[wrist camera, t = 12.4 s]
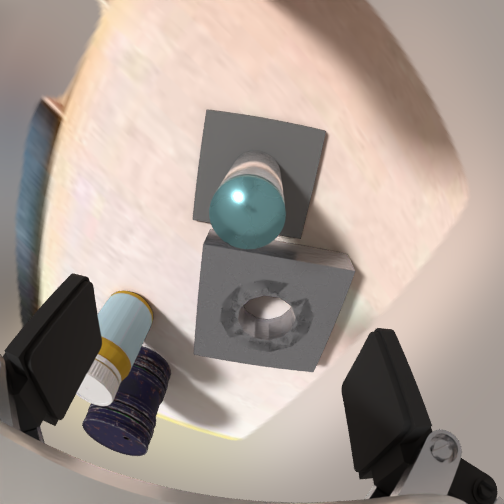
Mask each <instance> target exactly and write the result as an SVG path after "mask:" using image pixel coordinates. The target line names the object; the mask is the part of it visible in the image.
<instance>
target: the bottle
mask: <svg viewBox="0 0 504 504" xmlns="http://www.w3.org/2000/svg"><path fill="white" fill-rule="evenodd" d="M98 320H99V326H100V331H101V337H102V346H101V349H100V351H99V353H98V355H97V356H96V358H95V360H94V362H93V364H92V365H91V367H90V369H89V371H88V373H87V374H86V376H85V378H84V380H83V382H82V383H81V385H80V387H79V389H78V391H77V393H76V394H77V395H78V396H79V397H81V398H82V399H84V400H86V401H87V402H90V403H92V404H95V405H99V406H108V405H110V404H111V403H112V402H113V400H114V397H115V395H116V393H117V391H118V388H119V385H120V383H121V381H122V380H124V379H125V378H126V377H127V376H128V374H129V372H130V370H131V368H132V366H133V364H134V362H135V359H136V357H137V355H138V353H139V351H140V348H141V346H142V344H143V342H144V340H145V338H146V335H147V333H148V331H149V329H150V327H151V324H152V322H153V313H152V310H151V308H150V306H149V305H148V303H147V302H146V301H145V300H144V299H143V298H142V297H141V296H139V295H137V294H135V293H133V292H129V291H118V292H115V293H114V294H112V295H111V297H110V298H109V299H108V300H107V302H106V303H105V305H104V306H103V308H102V309H101V310H100V312H99V313H98Z"/></svg>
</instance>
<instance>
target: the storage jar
mask: <svg viewBox="0 0 504 504" xmlns="http://www.w3.org/2000/svg"><path fill="white" fill-rule="evenodd" d="M170 375H171V370H170V367H169V365H168V363H167V362H166V361H165V360H164V359H163V358H162V357H161V356H160V355H159V354H157V353H156V352H154V351H152V350H150V349H148V348H146V347H143V346H141V348H140V351H139V353H138V355H137V357H136V359H135V362H134V364H133V366H132V368H131V370H130V372H129V374H128V376H127V377H126V378H125V379H124V380H122V381H121V383H120V385H119V388H118V391H117V393H116V395H115V397H114V400H113V402H112V403H111V404H110V405H108V406H99V405H95V404H92V403H91V405H90V407H89V409H88V413H87V415H86V418H85V419H84V421H83V425H82V426H83V428H84V430H85V431H86V433H87V434H88V435H89V436H90V437H91V438H93V439H94V440H95V441H97V442H98V443H100V444H101V445H103V446H105V447H107V448H109V449H111V450H113V451H116V452H119V453H122V454H126V455H131V456H142V455H145V454H146V453H147V450H148V445H149V443H150V440H151V438H152V436H153V432H154V428H155V426H156V415H157V411H158V408H159V405H160V404H161V403H162V401H163V398H164V395H165V393H166V390H167V386H168V381H169V379H170Z"/></svg>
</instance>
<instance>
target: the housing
mask: <svg viewBox="0 0 504 504" xmlns="http://www.w3.org/2000/svg"><path fill="white" fill-rule="evenodd" d="M354 273H355V269H354V267H353V265H352V263H351V261H350V258H349V256H348V254H346V253H340V252H335V251H330V250H324V249H319V248H314V247H308V246H303V245H297V244H292V243H286V242H281V241H275V240H273V241H272V242H271V243H269V244H267V245H265V246H263V247H260V248H256V249H240V248H236V247H234V246H231V245H229V244H227V243H226V242H224V241H223V240H222V239H221V238H220V237H219V236H218V235H217V234H216V232H215V231H214V230H213V229H210V231H209V233H208V235H207V237H206V239H205V242H204V244H203V252H202V261H201V271H200V282H199V292H198V304H197V316H196V329H195V342H194V355H199V356H204V357H210V358H215V359H221V360H226V361H232V362H238V363H245V364H251V365H258V366H265V367H273V368H280V369H289V370H298V371H307V372H314V370H315V368H316V365H317V363H318V361H319V359H320V357H321V354H322V352H323V350H324V348H325V345H326V343H327V341H328V339H329V336H330V334H331V332H332V329H333V327H334V324H335V322H336V320H337V317H338V315H339V312H340V310H341V307H342V305H343V302H344V300H345V297H346V295H347V292H348V289H349V287H350V284H351V281H352V279H353V276H354ZM264 295H265V296H271V297H277V298H281V299H282V300H284V301H285V302H286V303H288V304H289V305H291V308H290V309H289V310H288V311H287V312H286V313H285V314H283V315H282V316H281V317H277V318H273V319H269V320H268V319H262V318H256V317H254V316H253V315H251V314H250V313H248V312H247V311H246V310H245V308H244V306H243V305H244V304H245V303H247V302H248V301H249V300H250V299H253V298H257V297H261V296H264Z"/></svg>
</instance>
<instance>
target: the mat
mask: <svg viewBox="0 0 504 504" xmlns="http://www.w3.org/2000/svg"><path fill="white" fill-rule="evenodd" d="M325 133H326V131H325V130H320V129H316V128H312V127H307V126H303V125H298V124H293V123H288V122H283V121H278V120H273V119H267V118H262V117H256V116H250V115H243V114H237V113H230V112H222V111H215V110H206V116H205V123H204V130H203V137H202V144H201V151H200V159H199V167H198V175H197V183H196V192H195V201H194V210H193V220H197V221H203V222H209V223H211V222H210V217H209V208H210V203H211V200H212V198H213V196H214V194H215V193H216V191H217V189H218V188H219V186H220V185H221V183H222V181H223V180H224V178H225V177H226V175H227V173H228V172H229V170H230V169H231V167H232V166H233V164H234V162H235V161H236V160H237V158H238V157H240V156H241V155H242V154H244V153H246V152H249V151H263V152H266V153H268V154H269V155H271V156H272V157H273V158H274V159H275V160H276V161H277V163H278V165H279V167H280V172H281V180H282V187H283V195H284V203H285V211H286V218H285V223H284V226H283V229H282V231H281V232H280V234H279V235H282V236H288V237H293V238H299V239H301V235H302V231H303V227H304V223H305V219H306V215H307V211H308V207H309V203H310V199H311V195H312V191H313V186H314V182H315V178H316V174H317V169H318V165H319V160H320V156H321V152H322V147H323V143H324V138H325Z"/></svg>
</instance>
